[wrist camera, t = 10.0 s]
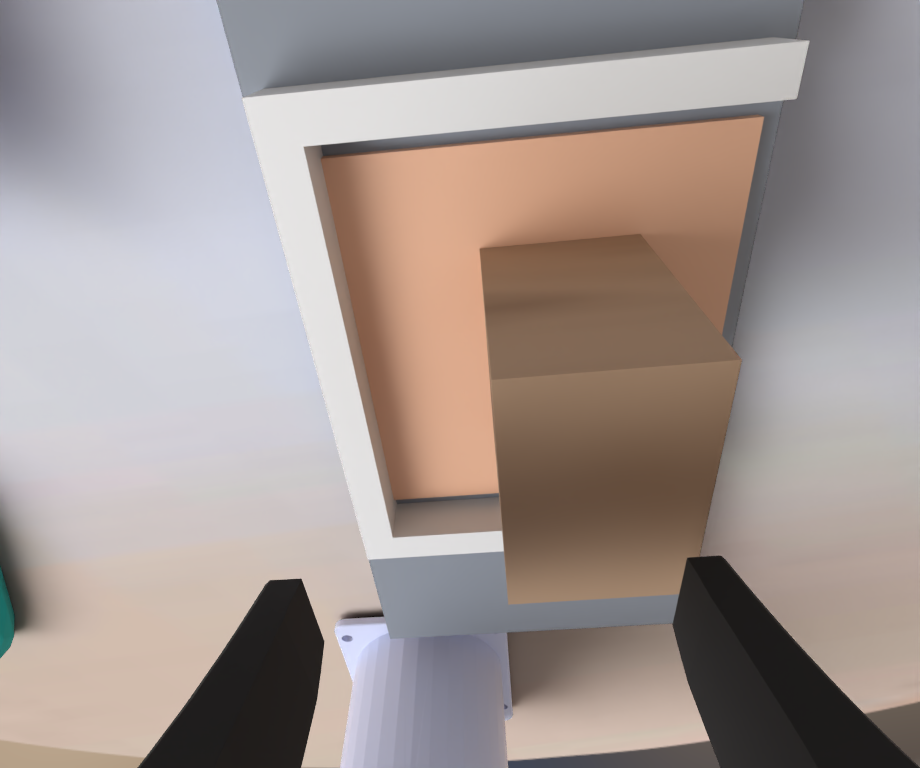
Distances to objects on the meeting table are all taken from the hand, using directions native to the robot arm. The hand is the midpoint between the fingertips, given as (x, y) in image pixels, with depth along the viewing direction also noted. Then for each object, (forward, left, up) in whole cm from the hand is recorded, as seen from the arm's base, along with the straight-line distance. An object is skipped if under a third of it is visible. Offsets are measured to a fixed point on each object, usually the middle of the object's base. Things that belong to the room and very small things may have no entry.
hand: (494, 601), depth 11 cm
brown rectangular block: (+1, -2, -7) cm, 8 cm away
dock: (-1, -1, -9) cm, 9 cm away
